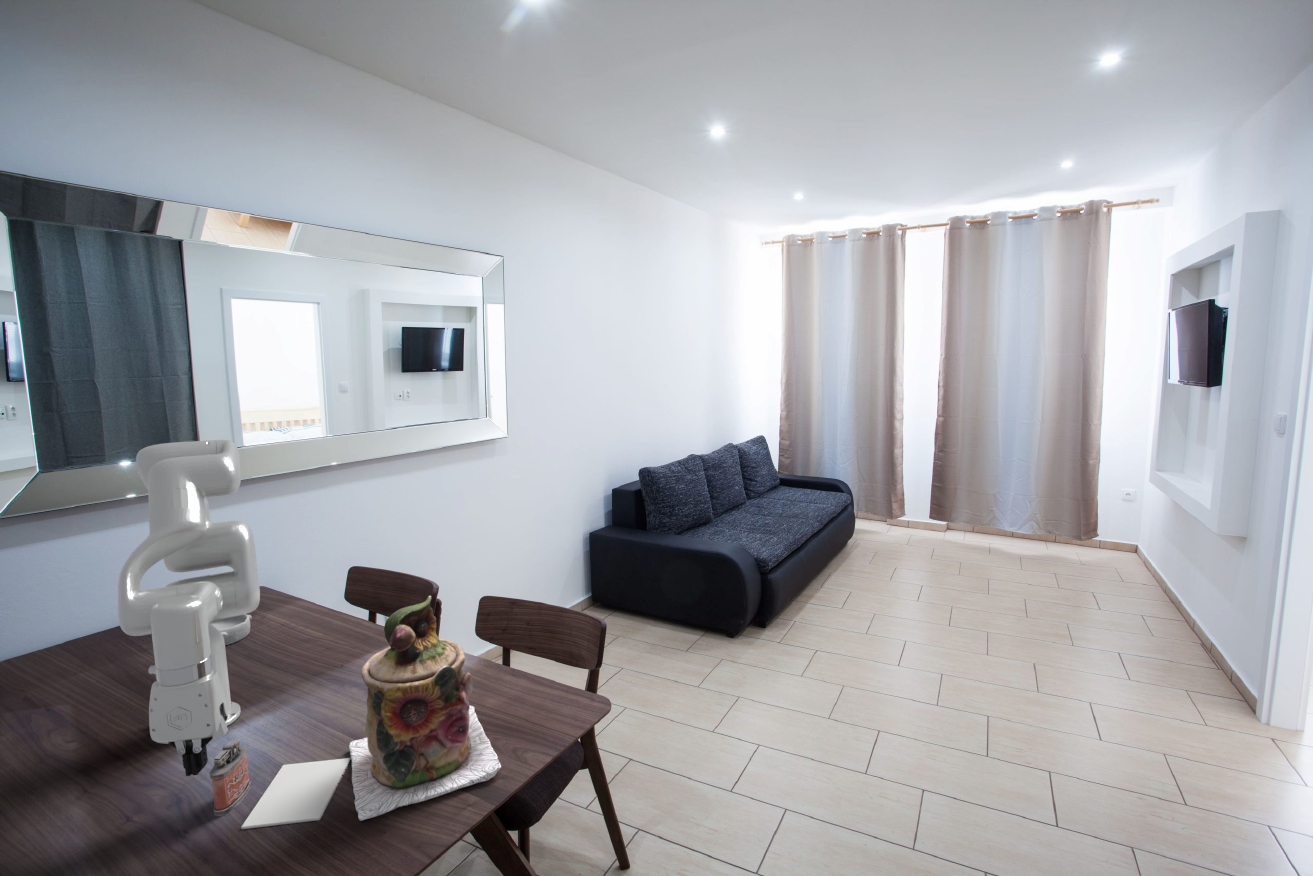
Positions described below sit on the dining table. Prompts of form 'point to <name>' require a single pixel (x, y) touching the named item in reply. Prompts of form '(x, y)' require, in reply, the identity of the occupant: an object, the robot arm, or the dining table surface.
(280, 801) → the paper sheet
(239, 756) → the lighter
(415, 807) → the dining table surface
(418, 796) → the cookie jar
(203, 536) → the robot arm
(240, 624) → the dish
